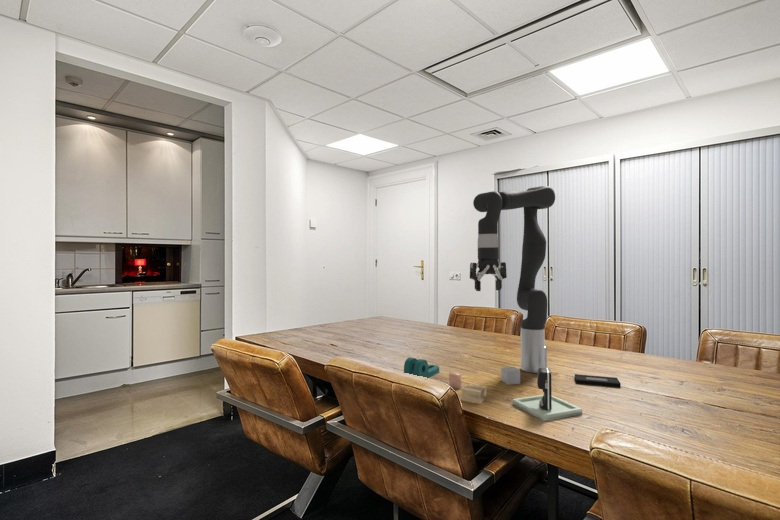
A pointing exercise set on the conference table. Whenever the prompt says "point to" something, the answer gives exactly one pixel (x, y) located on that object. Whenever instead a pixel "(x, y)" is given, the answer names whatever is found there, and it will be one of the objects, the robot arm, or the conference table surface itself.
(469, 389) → the oak block
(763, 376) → the conference table surface
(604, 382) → the vhs tape
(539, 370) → the battery charger
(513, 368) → the grey box
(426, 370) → the bracket
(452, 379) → the pink glossy rounded part
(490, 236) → the robot arm
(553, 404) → the tray
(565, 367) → the conference table surface
